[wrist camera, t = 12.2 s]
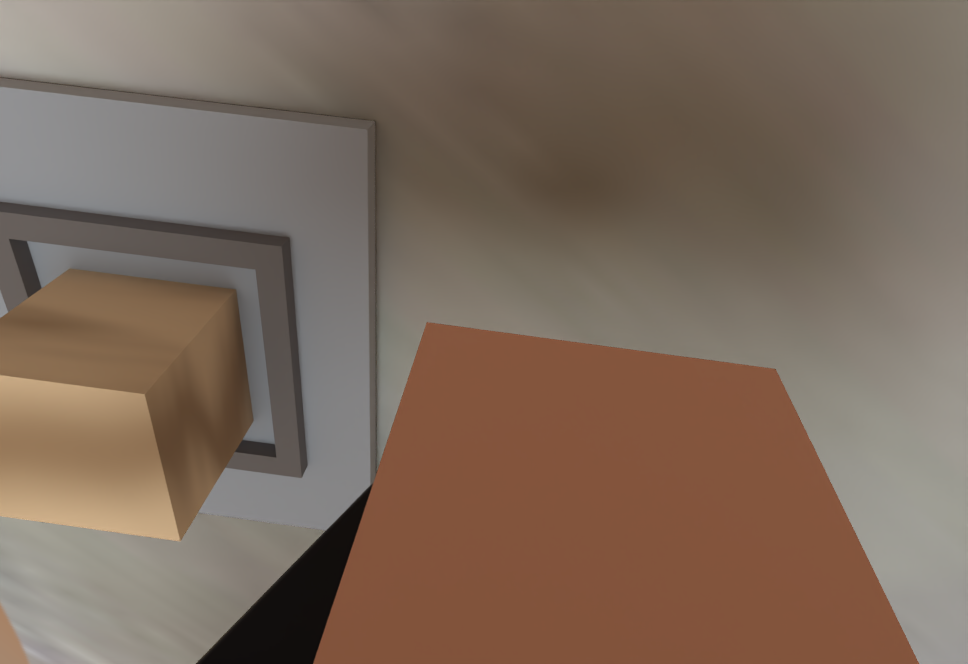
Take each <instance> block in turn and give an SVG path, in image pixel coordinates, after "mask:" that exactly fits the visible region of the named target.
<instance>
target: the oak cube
mask: <svg viewBox="0 0 968 664" xmlns="http://www.w3.org/2000/svg"><path fill="white" fill-rule="evenodd" d="M253 421H254V420H253V412H252V405H251V397H250V390H249V382H248V375H247V367H246V359H245V352H244V344H243V337H242V329H241V322H240V314H239V307H238V299H237V292H236V289H229V288H221V287H213V286H205V285H197V284H189V283H181V282H173V281H166V280H158V279H150V278H142V277H134V276H126V275H118V274H110V273H102V272H94V271H86V270H78V269H68V270H67V271H65V272H64V273H63V274H61V275H60V276H58V277H57V278H56V279H54V280H53V281H51V282H50V283H49V284H47V285H46V286H44V287H43V288H42V289H40V290H39V291H37V292H36V293H35V294H33V295H32V296H30V297H29V298H28V299H26V300H25V301H23V302H22V303H21V304H19V305H18V306H16V307H15V308H14V309H12V310H11V311H9V312H8V313H7V314H5V315H4V316H2V317H1V318H0V516H4V517H11V518H18V519H25V520H32V521H39V522H46V523H54V524H61V525H68V526H75V527H82V528H89V529H96V530H103V531H110V532H117V533H125V534H132V535H139V536H146V537H153V538H160V539H167V540H174V541H181V540H182V538H183V536H184V535H185V533H186V531H187V530H188V528H189V526H190V525H191V523H192V521H193V520H194V518H195V517H196V515H197V513H198V512H199V510H200V508H201V507H202V505H203V503H204V502H205V500H206V498H207V497H208V495H209V494H210V492H211V490H212V489H213V487H214V485H215V484H216V482H217V480H218V479H219V477H220V475H221V474H222V472H223V471H224V469H225V467H226V466H227V464H228V462H229V461H230V459H231V457H232V456H233V454H234V452H235V451H236V449H237V448H238V446H239V444H240V443H241V441H242V439H243V438H244V436H245V434H246V433H247V431H248V430H249V428H250V426H251V425H252V423H253Z"/></svg>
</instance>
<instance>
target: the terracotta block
mask: <svg viewBox="0 0 968 664" xmlns="http://www.w3.org/2000/svg"><path fill="white" fill-rule="evenodd" d="M313 664H919V663H918V661H917V659H916V657H915V655H914V652H913V650H912V648H911V646H910V644H909V642H908V640H907V638H906V636H905V634H904V632H903V630H902V628H901V626H900V624H899V622H898V620H897V618H896V615H895V613H894V611H893V609H892V607H891V605H890V603H889V601H888V599H887V597H886V595H885V593H884V591H883V589H882V587H881V585H880V583H879V581H878V579H877V576H876V574H875V572H874V570H873V568H872V566H871V564H870V562H869V560H868V558H867V556H866V554H865V552H864V550H863V548H862V546H861V544H860V542H859V539H858V537H857V535H856V533H855V531H854V529H853V527H852V525H851V523H850V521H849V519H848V517H847V515H846V513H845V511H844V509H843V507H842V505H841V502H840V500H839V498H838V496H837V494H836V492H835V490H834V488H833V486H832V484H831V482H830V480H829V478H828V476H827V474H826V472H825V470H824V468H823V466H822V463H821V461H820V459H819V457H818V455H817V453H816V451H815V449H814V447H813V445H812V443H811V441H810V439H809V437H808V435H807V433H806V431H805V429H804V426H803V424H802V422H801V420H800V418H799V416H798V414H797V412H796V410H795V408H794V406H793V404H792V402H791V400H790V398H789V396H788V394H787V392H786V390H785V387H784V385H783V383H782V381H781V379H780V377H779V375H778V373H777V371H776V369H771V368H764V367H756V366H749V365H741V364H734V363H727V362H719V361H712V360H704V359H697V358H689V357H682V356H674V355H667V354H659V353H652V352H645V351H637V350H630V349H622V348H615V347H607V346H600V345H592V344H585V343H577V342H570V341H562V340H555V339H548V338H540V337H533V336H525V335H518V334H510V333H503V332H495V331H488V330H480V329H473V328H465V327H458V326H451V325H443V324H436V323H428V322H427V323H426V327H425V330H424V333H423V336H422V339H421V342H420V345H419V348H418V351H417V354H416V357H415V360H414V363H413V366H412V369H411V372H410V375H409V378H408V381H407V384H406V387H405V390H404V393H403V396H402V399H401V402H400V405H399V408H398V411H397V414H396V417H395V420H394V423H393V426H392V429H391V432H390V435H389V438H388V441H387V444H386V447H385V450H384V453H383V456H382V459H381V462H380V465H379V468H378V471H377V474H376V477H375V480H374V483H373V486H372V489H371V492H370V495H369V498H368V501H367V504H366V507H365V510H364V513H363V516H362V519H361V522H360V525H359V528H358V531H357V534H356V537H355V540H354V543H353V546H352V549H351V552H350V555H349V558H348V561H347V564H346V567H345V570H344V573H343V576H342V579H341V582H340V585H339V588H338V591H337V594H336V597H335V600H334V603H333V606H332V609H331V612H330V615H329V618H328V621H327V624H326V627H325V630H324V633H323V636H322V639H321V642H320V645H319V648H318V651H317V654H316V657H315V660H314V663H313Z"/></svg>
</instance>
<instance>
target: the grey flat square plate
mask: <svg viewBox="0 0 968 664" xmlns="http://www.w3.org/2000/svg"><path fill="white" fill-rule="evenodd" d="M68 269H78V270H86V271H94V272H102V273H110V274H118V275H126V276H134V277H142V278H150V279H158V280H166V281H173V282H181V283H189V284H197V285H205V286H213V287H221V288H229V289H236V292H237V299H238V307H239V314H240V322H241V329H242V337H243V344H244V352H245V359H246V367H247V375H248V382H249V390H250V397H251V405H252V412H253V420H254V421H253V423H252V425H251V426H250V428H249V430H248V431H247V433H246V434H245V436H244V438H243V439H242V441H241V443H240V444H239V446H238V448H237V449H236V451H235V452H234V454H233V456H232V457H231V459H230V461H229V462H228V464H227V466H226V467H225V469H224V471H223V472H222V474H221V475H220V477H219V479H218V480H217V482H216V484H215V485H214V487H213V489H212V490H211V492H210V494H209V495H208V497H207V498H206V500H205V502H204V503H203V505H202V507H201V508H200V510H199V512H198V513H204V514H211V515H218V516H226V517H233V518H240V519H247V520H254V521H261V522H269V523H276V524H283V525H290V526H297V527H304V528H312V529H319V530H327V529H328V528H329V527H330V526H331V525H332V524H333V523H334V522H335V521H336V520H337V519H338V518H339V517H340V516H341V515H342V514H343V513H344V512H345V511H346V510H347V509H348V508H349V507H350V506H351V504H352V503H353V502H354V501H355V500H356V499H357V498H358V497H359V496H360V495H361V494H362V493H363V492H364V491H365V490H366V489H367V488H368V487H369V486H370V485H371V484H372V483H374V480H375V477H376V290H375V121H369V120H360V119H352V118H343V117H334V116H326V115H317V114H309V113H300V112H291V111H283V110H274V109H266V108H257V107H248V106H240V105H231V104H223V103H214V102H205V101H197V100H188V99H180V98H171V97H162V96H154V95H145V94H137V93H128V92H119V91H111V90H102V89H94V88H85V87H76V86H68V85H59V84H51V83H42V82H33V81H25V80H16V79H8V78H0V318H1V317H2V316H4V315H5V314H7V313H8V312H9V311H11V310H12V309H14V308H15V307H16V306H18V305H19V304H21V303H22V302H23V301H25V300H26V299H28V298H29V297H30V296H32V295H33V294H35V293H36V292H37V291H39V290H40V289H42V288H43V287H44V286H46V285H47V284H49V283H50V282H51V281H53V280H54V279H56V278H57V277H58V276H60V275H61V274H63V273H64V272H65V271H67V270H68Z"/></svg>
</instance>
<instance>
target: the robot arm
mask: <svg viewBox="0 0 968 664" xmlns="http://www.w3.org/2000/svg"><path fill="white" fill-rule="evenodd" d="M372 486H373V483H372V484H371V485H370V486H369V487H368V488H367V489H366V490H365V491H364V492H363V493H362V494H361V495H360V496H359V497H358V498H357V499H356V500H355V501H354V502H353V503H352V504H351V506H350V507H349V508H348V509H347V510H346V511H345V512H344V513H343V514H342V515H341V516H340V517H339V518H338V519H337V520H336V521H335V522H334V523H333V524H332V525H331V526H330V527H329V528H328V529H327V530H326V531H325V532H324V533H323V534H322V535H321V536H320V537H319V538H318V539H317V540H316V541H315V542H314V543H313V544H312V545H311V546H310V547H309V548H308V549H307V551H306V552H305V553H304V554H303V555H302V556H301V557H300V558H299V559H298V560H297V561H296V562H295V563H294V564H293V565H292V566H291V567H290V568H289V569H288V570H287V571H286V572H285V573H284V574H283V575H282V576H281V577H280V578H279V579H278V580H277V581H276V582H275V583H274V584H273V585H272V586H271V587H270V588H269V589H268V590H267V591H266V592H265V593H264V594H263V596H262V597H261V598H260V599H259V600H258V601H257V602H256V603H255V604H254V605H253V606H252V607H251V608H250V609H249V610H248V611H247V612H246V613H245V614H244V615H243V616H242V617H241V618H240V619H239V620H238V621H237V622H236V623H235V624H234V625H233V626H232V627H231V628H230V629H229V630H228V631H227V632H226V633H225V634H224V635H223V636H222V637H221V638H220V639H219V640H218V642H217V643H216V644H215V645H214V646H213V647H212V648H211V649H210V650H209V651H208V652H207V653H206V654H205V655H204V656H203V657H202V658H201V659H200V660H199V661H198V662H197V663H196V664H313V663H314V660H315V657H316V654H317V651H318V648H319V645H320V642H321V639H322V636H323V633H324V630H325V627H326V624H327V621H328V618H329V615H330V612H331V609H332V606H333V603H334V600H335V597H336V594H337V591H338V588H339V585H340V582H341V579H342V576H343V573H344V570H345V567H346V564H347V561H348V558H349V555H350V552H351V549H352V546H353V543H354V540H355V537H356V534H357V531H358V528H359V525H360V522H361V519H362V516H363V513H364V510H365V507H366V504H367V501H368V498H369V495H370V492H371V489H372Z"/></svg>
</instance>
